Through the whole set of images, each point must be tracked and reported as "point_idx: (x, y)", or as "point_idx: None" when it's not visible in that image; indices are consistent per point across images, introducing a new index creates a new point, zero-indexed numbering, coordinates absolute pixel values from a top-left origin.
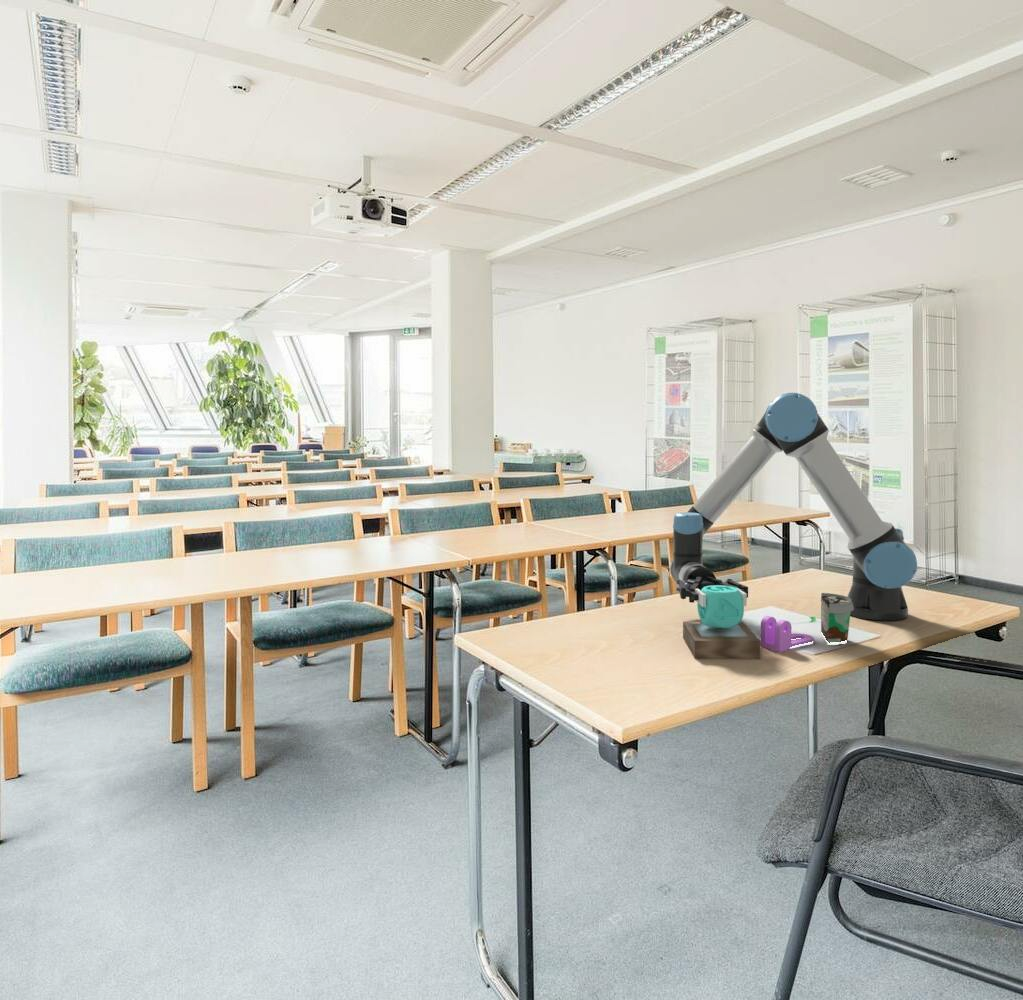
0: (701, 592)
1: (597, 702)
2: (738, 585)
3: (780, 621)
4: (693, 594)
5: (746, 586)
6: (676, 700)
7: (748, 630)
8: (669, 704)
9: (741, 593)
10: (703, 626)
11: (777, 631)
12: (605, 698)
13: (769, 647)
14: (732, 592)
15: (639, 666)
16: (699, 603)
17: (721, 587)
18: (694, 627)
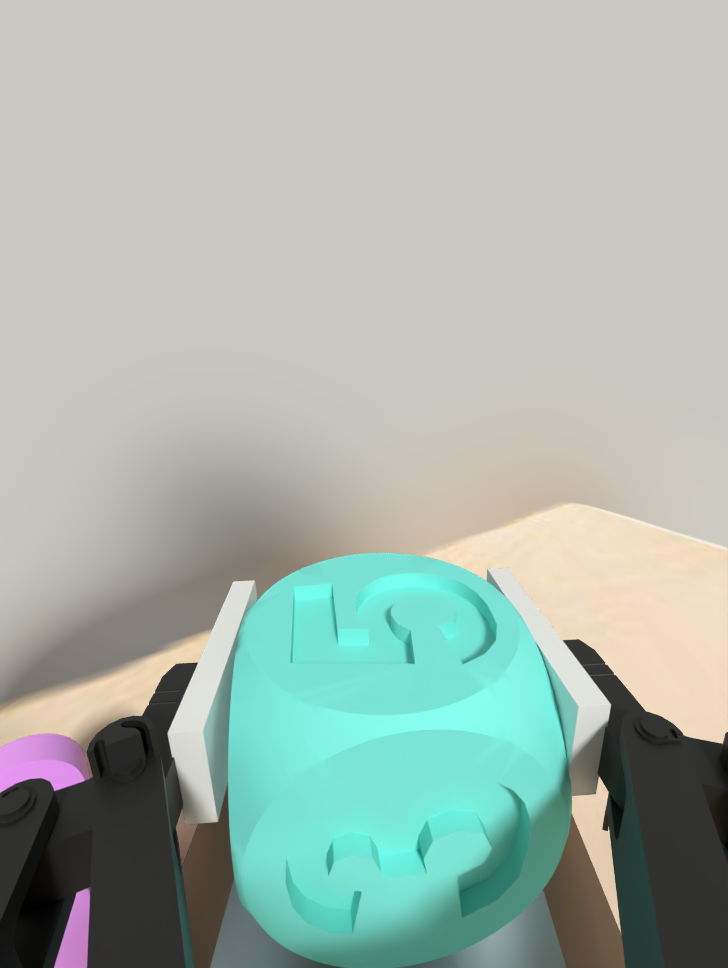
0: (522, 604)
1: (652, 538)
2: (146, 721)
3: (42, 749)
4: (587, 647)
5: (10, 793)
6: (519, 545)
7: (201, 855)
8: (528, 537)
9: (248, 604)
10: (495, 933)
11: (85, 775)
12: (648, 547)
13: None
14: (326, 560)
15: (684, 675)
16: None
17: (352, 669)
18: (566, 952)
